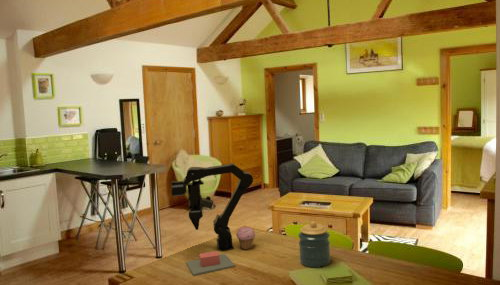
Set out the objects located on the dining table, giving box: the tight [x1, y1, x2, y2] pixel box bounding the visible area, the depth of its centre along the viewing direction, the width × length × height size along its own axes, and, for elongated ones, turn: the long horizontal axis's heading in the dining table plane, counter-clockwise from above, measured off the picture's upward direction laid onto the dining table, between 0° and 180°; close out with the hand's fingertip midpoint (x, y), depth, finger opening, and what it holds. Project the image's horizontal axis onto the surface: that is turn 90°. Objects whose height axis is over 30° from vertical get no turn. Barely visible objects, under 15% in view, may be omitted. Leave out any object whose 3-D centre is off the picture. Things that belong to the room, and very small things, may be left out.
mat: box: [185, 253, 236, 277], centre depth 177 cm, size 18×14×1 cm
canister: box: [297, 220, 332, 268], centre depth 173 cm, size 13×13×18 cm
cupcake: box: [236, 226, 256, 250], centre depth 194 cm, size 9×9×10 cm
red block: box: [199, 250, 220, 267], centre depth 177 cm, size 5×8×4 cm, turn 102°
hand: (197, 226), depth 193 cm, fingers open, 9 cm apart
